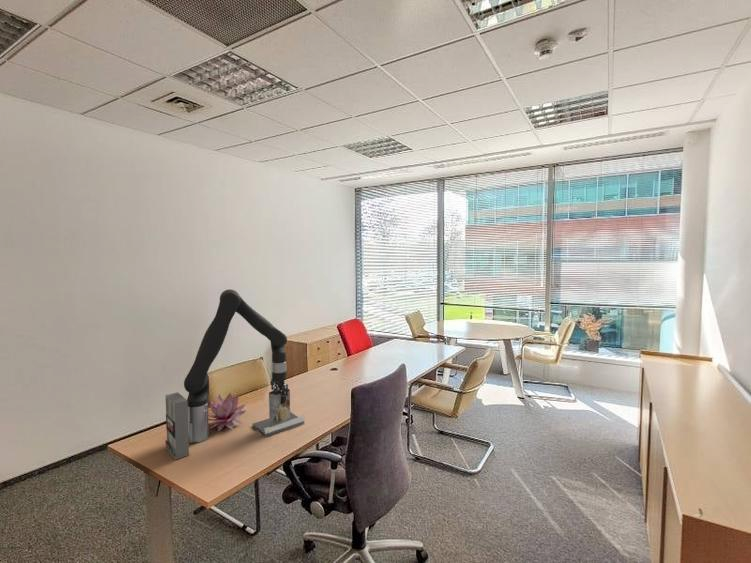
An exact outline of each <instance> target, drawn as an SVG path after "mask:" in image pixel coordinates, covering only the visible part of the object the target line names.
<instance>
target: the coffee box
mask: <svg viewBox="0 0 751 563" xmlns="http://www.w3.org/2000/svg"><path fill="white" fill-rule="evenodd" d="M290 392H291V389H290V388H288V396H285V399H286V402H285V403H284V404H282V403H281V393H279V391H278V389H276V390H274V391H273V390H271V391H270V392H268V406H269V407H268V408H269V409H268V412H269V413H268V415H269V418H268V419H270V423H273V424H279V423H282V422H285V421H286V420H288V419H290V412H291V397H290V396H291V395H290V394H291V393H290Z"/></svg>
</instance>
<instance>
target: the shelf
mask: <svg viewBox="0 0 751 563" xmlns="http://www.w3.org/2000/svg"><path fill="white" fill-rule="evenodd" d="M304 424H305V416H304V415H301V416H297V415H296V414H295V413H293V412H292V411H290V419H288V420H286V421H285V422H282V423H279V424H273V423H270V419H269V418H266V419H263V420H261V421H256V422H253V423H252V428H254V430H256V431H257V430H258V431H257V432H259V433H260V435H262V436H263V435H264V436H263V437H264V438H266V436H267V437H269V436H272V435H274V434H278V433H281V432H284V431H287V430H290V429H293V428H297V427H299V426H302V425H304Z"/></svg>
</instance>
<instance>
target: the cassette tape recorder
mask: <svg viewBox="0 0 751 563" xmlns="http://www.w3.org/2000/svg"><path fill="white" fill-rule="evenodd" d="M165 430H166V439H165V442H164V443H165V449H166V450H167V452H168V453H169V454H170V456H171V457H172V458H173V459H174V461H175V460H176V461H177V460H179V459H182V458H184V457H186V456H187V457H188V456H190V443H189V437H188V401H187V398H185V397H184V395H182V394H180V393H179V392H173V393H169V394H165Z"/></svg>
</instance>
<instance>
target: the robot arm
mask: <svg viewBox="0 0 751 563" xmlns="http://www.w3.org/2000/svg"><path fill="white" fill-rule="evenodd" d="M236 313H237V314H239V315H240V316H241V317H242V318H243V319H244V320H245V321H246V322H247V323H248V324H249V325H250V326H251V327H252V328H253V330H256V331H257V332H258V333H260V335H262V336H264V337H266V338H267V339H268V340H269V341H270V348H271V379H270V381H271V382H270V387H271V391H274V390H276V389H278V391H279V393H281V403H282V404H284V403H285V402H286V399H285V396H288V389H289V384H288V383H285V380H287V377H288V376H287V374H288V372H287V370H288V368H287V367H288V365H287V353H286V349H285V345H286V344H287V341H288V337H287V335H286V334H285V333H283V332H282V331H281V330H280V329H278V328H277V327H276V326H274V325H273V323H271V322H270V321H269V320H267V319H266V318H265V317H264V316H263V315H261V314H260V313H259V312H257V311H256V310H255V309H253V308H252V306H250V305H249V304H248V303H247V302H246V301H245V300H244V299H243V297H241V295H240V294H239V293H238V292H237V291H236V290H234V289H226V290H223V291H222V292H221V294H220V296H219V303H218V307H217V310H216V313H215V316H214V318H213V320H212V321H211V323H210V324H209V326H208V327H207V329H206V330H205V332H204V335H203V337H202V339H201V343H200V345H199V348H198V351H197V353H196V356H195V359H194V362H193V364H192V366H191V368H190V370H189V371H188V373H187V375H186V377H185V378H184V381H183V386H184V390H185V391H186V392H187V393H188V394H187V398H186V400H187V401H188V437H189V444H194V443H195V444H196V443H201V442H204V441H206V440H207V439H209V435H210V434H209V433H210V432H209V428H210V427H209V424H208V423H209V420H208V419H209V416H208V413H209V396H210V376H209V374H208V372H209V369H210V367H211V365H213V364H212V363H213V362H214V361H215V359H216V358H217V357H218V354H219V352H220V350H221V349H222V347H223V344H224V342H225V339H226V337H227V334H228V331H229V327H230V324H231V322H232V319H233V317H234V315H235V314H236Z"/></svg>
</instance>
